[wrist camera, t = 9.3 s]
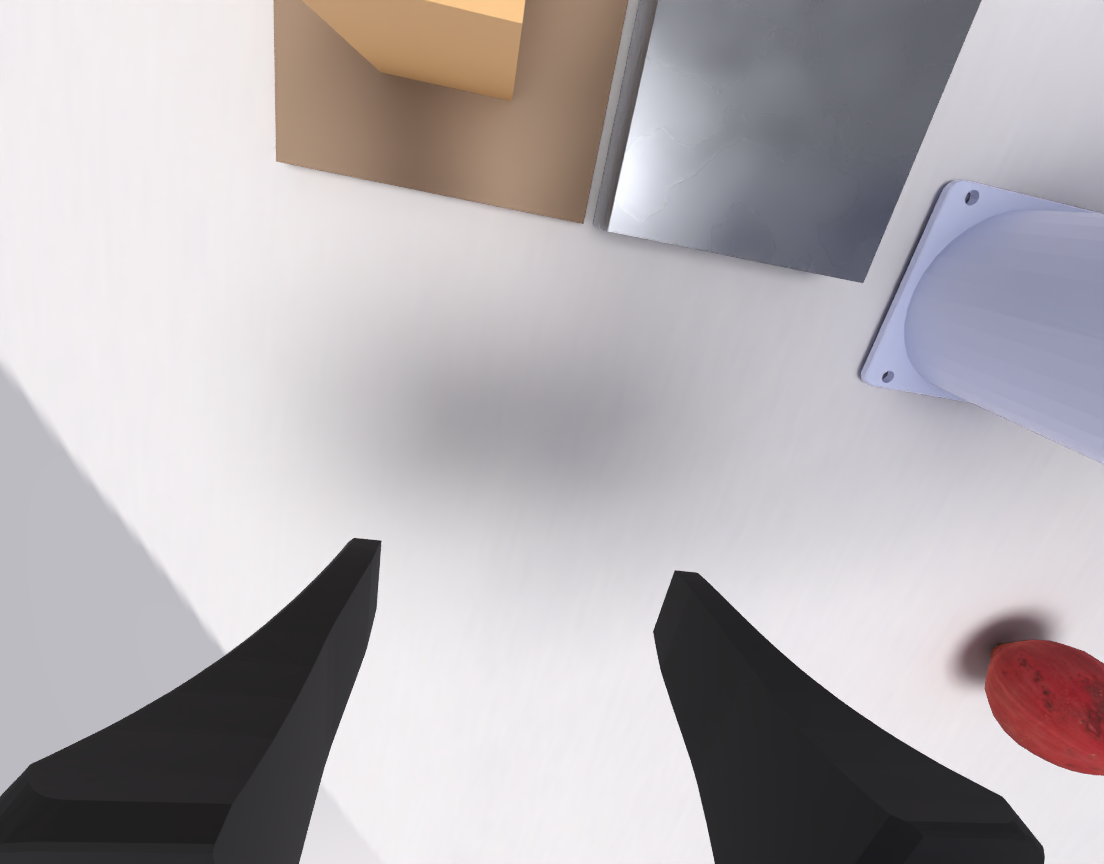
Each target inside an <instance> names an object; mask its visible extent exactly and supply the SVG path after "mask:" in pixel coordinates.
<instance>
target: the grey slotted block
mask: <svg viewBox="0 0 1104 864" xmlns="http://www.w3.org/2000/svg"><path fill="white" fill-rule="evenodd" d="M980 2H981V0H640V1H639V5H638V10H637V15H636V20H635V25H634V29H633V34H632V39H631V44H630V49H629V53H628V58H627V63H626V68H625V73H624V77H623V82H622V87H621V92H620V97H619V101H618V106H617V111H616V116H615V121H614V125H613V130H612V135H611V140H610V145H609V149H608V154H607V159H606V164H605V169H604V173H603V178H602V183H601V188H600V193H599V197H598V202H597V207H596V212H595V217H594V221H593V225H595V226H597V227H599V228H601V229H604V230H606V231H608V232H613V233H618V234H623V235H628V236H633V237H638V238H643V239H648V240H653V241H658V242H663V243H668V244H673V245H678V246H683V247H687V248H692V249H697V250H702V251H707V252H712V253H717V254H722V255H727V256H732V257H737V258H742V259H747V260H752V261H757V262H762V263H766V264H771V265H776V266H781V267H786V268H791V269H796V270H801V271H806V272H811V273H816V274H821V275H826V276H831V277H836V278H841V279H846V280H850V281H855V282H860V283H863V282H864V280H865V277H866V275H867V273H868V270H869V268H870V265H871V263H872V261H873V258H874V256H875V253H876V251H877V249H878V246H879V244H880V242H881V239H882V237H883V234H884V232H885V230H886V227H887V225H888V222H889V220H890V218H891V215H892V213H893V210H894V208H895V206H896V203H897V201H898V199H899V196H900V194H901V191H902V189H903V187H904V184H905V182H906V179H907V177H908V175H909V172H910V170H911V167H912V165H913V163H914V160H915V158H916V155H917V153H918V151H919V148H920V146H921V144H922V141H923V139H924V136H925V134H926V132H927V129H928V127H929V124H930V122H931V120H932V117H933V115H934V112H935V110H936V108H937V105H938V103H939V101H940V98H941V96H942V93H943V91H944V89H945V86H946V84H947V81H948V79H949V77H950V74H951V72H952V69H953V67H954V65H955V62H956V60H957V57H958V55H959V53H960V50H961V48H962V46H963V43H964V41H965V38H966V36H967V34H968V31H969V29H970V26H971V24H972V22H973V19H974V17H975V14H976V12H977V10H978V7H979V5H980Z"/></svg>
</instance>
